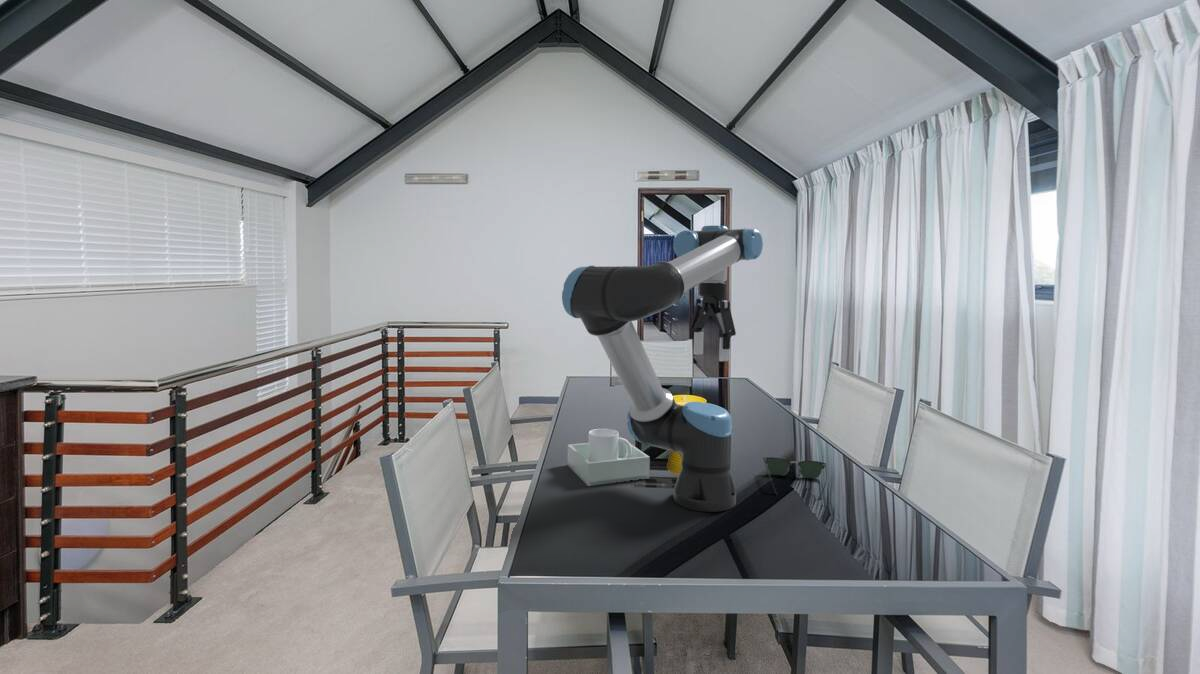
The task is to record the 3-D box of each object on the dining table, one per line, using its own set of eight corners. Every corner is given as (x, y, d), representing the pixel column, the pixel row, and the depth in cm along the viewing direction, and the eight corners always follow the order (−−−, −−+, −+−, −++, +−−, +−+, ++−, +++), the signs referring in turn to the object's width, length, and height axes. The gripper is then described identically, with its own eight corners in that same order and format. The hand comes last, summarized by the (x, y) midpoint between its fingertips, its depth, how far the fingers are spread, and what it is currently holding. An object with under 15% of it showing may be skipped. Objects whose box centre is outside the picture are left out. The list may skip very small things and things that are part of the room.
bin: (649, 478, 159) (649, 456, 158) (588, 486, 153) (588, 463, 152) (623, 458, 175) (624, 439, 175) (567, 465, 169) (567, 444, 168)
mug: (631, 464, 167) (632, 429, 166) (630, 474, 159) (631, 437, 157) (589, 463, 168) (590, 428, 167) (586, 473, 160) (587, 436, 158)
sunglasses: (763, 495, 149) (764, 476, 148) (762, 473, 165) (763, 456, 165) (833, 502, 145) (834, 483, 144) (824, 479, 161) (825, 461, 161)
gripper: (751, 283, 154) (747, 363, 156) (701, 281, 177) (699, 351, 179) (726, 283, 151) (723, 364, 153) (679, 281, 174) (677, 352, 176)
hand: (710, 357), depth 166 cm, fingers open, 13 cm apart
